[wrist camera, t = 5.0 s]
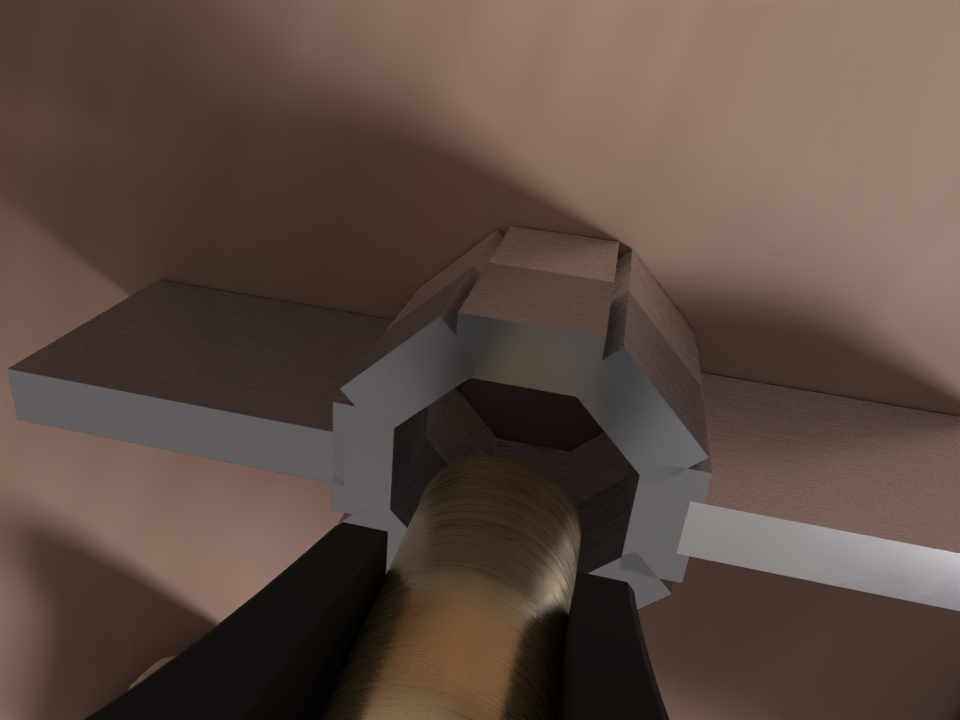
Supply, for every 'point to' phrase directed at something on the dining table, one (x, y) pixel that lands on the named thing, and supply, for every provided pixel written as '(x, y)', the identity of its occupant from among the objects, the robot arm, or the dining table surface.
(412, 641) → the hinge pin
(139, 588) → the dining table surface
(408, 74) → the dining table surface
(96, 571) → the dining table surface
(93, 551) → the dining table surface
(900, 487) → the hinge
